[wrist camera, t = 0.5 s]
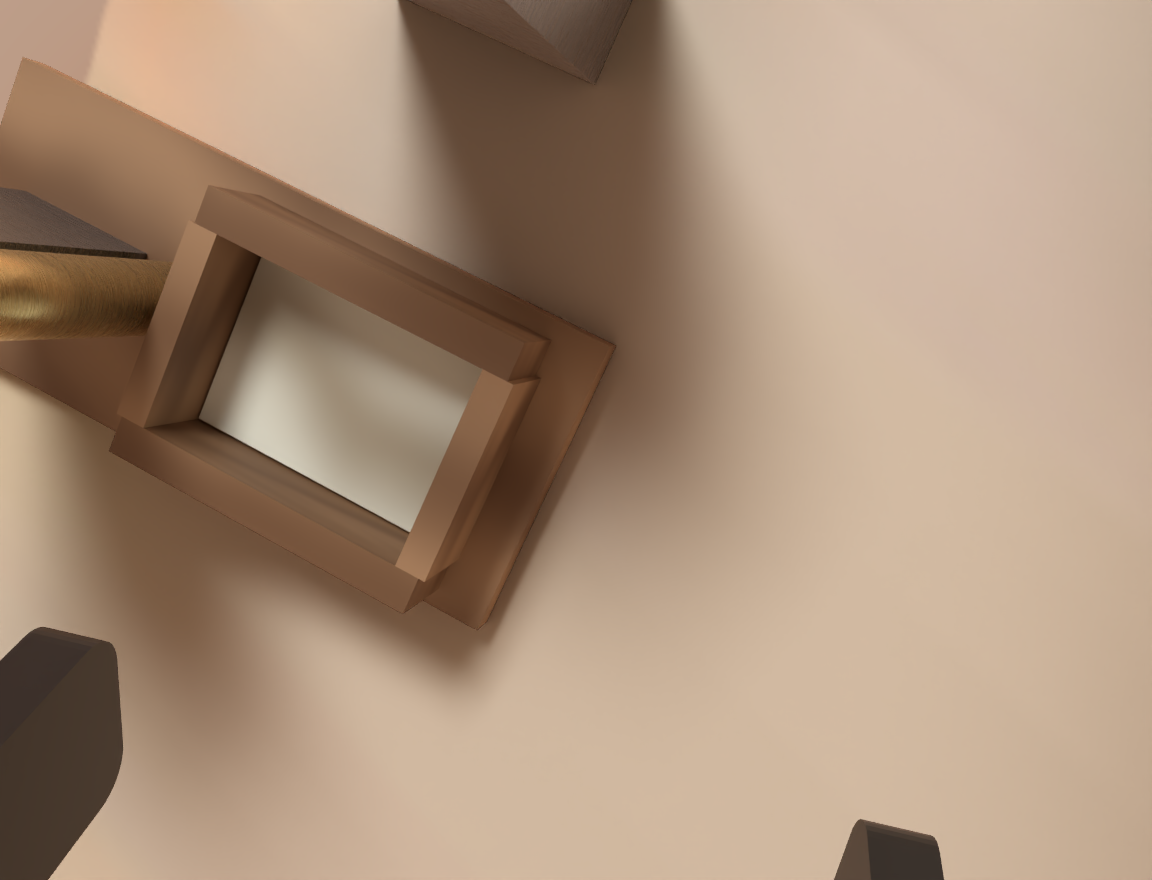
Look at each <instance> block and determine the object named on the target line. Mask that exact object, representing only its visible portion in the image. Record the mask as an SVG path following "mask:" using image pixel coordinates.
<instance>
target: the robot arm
mask: <svg viewBox="0 0 1152 880" xmlns="http://www.w3.org/2000/svg"><path fill="white" fill-rule="evenodd" d="M122 754H123V738H122V723H121V709H120V694H119V680H118V665H117V655H116V651H115V648H114V647H113V645H112V644H111V643H110V642H106V641H102V640H98V639H94V638H89V637H85V636H81V635H76V634H72V633H68V632H63V631H59V630H55V629H51V628H46V627H40V628H37V629H34V630H33V631H31V632H30V633H28V634H27V635H26V636H25V637H24V638H23V639H22V640H21V641H20V642H19V643H18V644H17V645H16V646H15V647H14V648H13V649H12V650H11V651H10V652H9V653H8V654H7V655H6V656H5V657H4V658H3V659H2V660H0V880H48V879H49V878H50V876H51V875H52V874H53V872H54V871H55V870H56V868H57V867H58V866H59V864H60V863H61V862H62V860H63V859H64V858H65V856H66V855H67V854H68V852H69V851H70V849H71V848H72V847H73V845H74V844H75V843H76V841H77V840H78V839H79V837H80V836H81V835H82V833H83V832H84V831H85V829H86V828H87V827H88V825H89V824H90V823H91V821H92V820H93V819H94V817H95V816H96V815H97V813H98V812H99V811H100V809H101V808H102V806H103V805H104V803H105V802H106V800H107V798H108V797H109V795H110V793H111V791H112V789H113V786H114V784H115V781H116V779H117V776H118V773H119V769H120V765H121V761H122ZM834 880H944V877H943V870H942V864H941V858H940V852H939V847H938V844H937V841H936V840H935V838H934V837H933V836H931V835H926V834H922V833H918V832H913V831H909V830H905V829H901V828H896V827H892V826H888V825H883V824H879V823H875V822H870V821H866V820H862V819H860V820H858V821H857V822H856V824H855V825H854V827H853V829H852V832H851V834H850V837H849V840H848V843H847V845H846V848H845V851H844V854H843V856H842V859H841V862H840V865H839V868H838V870H837V873H836V876H835V879H834Z"/></svg>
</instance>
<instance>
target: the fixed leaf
mask: <svg viewBox="0 0 1152 880" xmlns="http://www.w3.org/2000/svg"><path fill="white" fill-rule="evenodd" d="M146 256H147V253H145V252H143V251H141V250H139V249H137V248H135V247H133V246H131V245H129V244H128V243H126V242H124V241H122V240H120V239H118V238H116V237H114V236H112V235H110V234H108V233H106V232H104V231H102V230H100V229H99V228H97V227H95V226H93V225H91V224H89V223H87V222H85V221H83V220H81V219H79V218H77V217H75V216H73V215H71V214H70V213H68V212H66V211H64V210H62V209H60V208H58V207H56V206H54V205H52V204H50V203H48V202H46V201H44V200H42V199H40V198H39V197H37V196H35V195H33V194H31V193H29V192H27V191H23V190H16V189H10V188H3V187H0V341H17V340H45V339H73V338H101V337H130V336H146V333H147V331H148V328H149V325H150V323H151V320H152V317H153V315H154V312H155V309H156V306H157V304H158V301H159V298H160V296H161V293H162V290H163V288H164V285H165V282H166V280H167V277H168V274H169V272H170V269H171V266H172V264H173V262H169V261H155V260H145V259H146Z"/></svg>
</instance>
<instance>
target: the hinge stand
mask: <svg viewBox="0 0 1152 880" xmlns="http://www.w3.org/2000/svg"><path fill="white" fill-rule="evenodd" d="M0 187H3V188H10V189H16V190H23V191H27V192H29V193H31V194H33V195H35V196H37V197H39V198H40V199H42V200H44V201H46V202H48V203H50V204H52V205H54V206H56V207H58V208H60V209H62V210H64V211H66V212H68V213H70V214H71V215H73V216H75V217H77V218H79V219H81V220H83V221H85V222H87V223H89V224H91V225H93V226H95V227H97V228H99V229H100V230H102V231H104V232H106V233H108V234H110V235H112V236H114V237H116V238H118V239H120V240H122V241H124V242H126V243H128V244H129V245H131V246H133V247H135V248H137V249H139V250H141V251H143V252H145V253H147V256H146V259H145V260H155V261H169V262H173V264H172V266H171V269H170V272H169V274H168V277H167V280H166V282H165V285H164V288H163V290H162V293H161V296H160V298H159V301H158V304H157V306H156V309H155V312H154V315H153V317H152V320H151V323H150V325H149V328H148V331H147V333H146V336H130V337H101V338H73V339H45V340H17V341H0V368H1V369H3V370H5V371H7V372H9V373H11V374H12V375H14V376H16V377H18V378H20V379H21V380H23V381H25V382H27V383H29V384H31V385H32V386H34V387H36V388H38V389H40V390H41V391H43V392H45V393H47V394H49V395H51V396H52V397H54V398H56V399H58V400H60V401H61V402H63V403H65V404H67V405H69V406H71V407H72V408H74V409H76V410H78V411H80V412H81V413H83V414H85V415H87V416H89V417H90V418H92V419H94V420H96V421H98V422H100V423H101V424H103V425H105V426H107V427H109V428H110V429H112V430H114V431H116V434H115V436H114V439H113V442H112V444H111V447H110V450H109V451H110V452H112V453H113V454H115V455H117V456H119V457H121V458H122V459H124V460H126V461H128V462H130V463H131V464H133V465H135V466H137V467H139V468H140V469H142V470H144V471H146V472H148V473H149V474H151V475H153V476H155V477H157V478H158V479H160V480H162V481H164V482H166V483H167V484H169V485H171V486H173V487H175V488H176V489H178V490H180V491H182V492H184V493H185V494H187V495H189V496H191V497H193V498H194V499H196V500H198V501H200V502H202V503H203V504H205V505H207V506H209V507H211V508H212V509H214V510H216V511H218V512H220V513H221V514H223V515H225V516H227V517H229V518H230V519H232V520H234V521H236V522H238V523H240V524H241V525H243V526H245V527H247V528H249V529H250V530H252V531H254V532H256V533H258V534H259V535H261V536H263V537H265V538H267V539H268V540H270V541H272V542H274V543H276V544H277V545H279V546H281V547H283V548H285V549H286V550H288V551H290V552H292V553H294V554H295V555H297V556H299V557H301V558H303V559H304V560H306V561H308V562H310V563H312V564H313V565H315V566H317V567H319V568H321V569H322V570H324V571H326V572H328V573H330V574H331V575H333V576H335V577H337V578H339V579H340V580H342V581H344V582H346V583H348V584H349V585H351V586H353V587H355V588H357V589H358V590H360V591H362V592H364V593H366V594H367V595H369V596H371V597H373V598H375V599H377V600H378V601H380V602H382V603H384V604H386V605H387V606H389V607H391V608H393V609H395V610H396V611H398V612H400V613H402V614H403V613H405V612H406V611H408V610H409V609H411V608H412V607H413V606H415V605H416V604H418V603H419V602H421V601H422V600H423V601H425V602H426V603H428V604H430V605H432V606H434V607H436V608H437V609H439V610H441V611H443V612H445V613H446V614H448V615H450V616H452V617H454V618H455V619H457V620H459V621H461V622H463V623H465V624H466V625H468V626H470V627H472V628H474V629H475V630H478V629H479V628H480V627H481V626H482V625H484V624H485V623H486V622H487V620H488V618H489V616H490V614H491V611H492V609H493V607H494V605H495V603H496V601H497V599H498V596H499V594H500V592H501V590H502V588H503V586H504V584H505V582H506V579H507V577H508V575H509V573H510V571H511V569H512V567H513V565H514V562H515V560H516V558H517V556H518V554H519V552H520V550H521V548H522V545H523V543H524V541H525V539H526V537H527V535H528V533H529V530H530V528H531V526H532V524H533V522H534V520H535V518H536V516H537V513H538V511H539V509H540V507H541V505H542V503H543V501H544V499H545V496H546V494H547V492H548V490H549V488H550V486H551V484H552V482H553V479H554V477H555V475H556V473H557V471H558V469H559V467H560V464H561V462H562V460H563V458H564V456H565V454H566V452H567V450H568V447H569V445H570V443H571V441H572V439H573V437H574V435H575V433H576V430H577V428H578V426H579V424H580V422H581V420H582V418H583V416H584V413H585V411H586V409H587V407H588V405H589V403H590V401H591V398H592V396H593V394H594V392H595V390H596V388H597V386H598V384H599V381H600V379H601V377H602V375H603V373H604V371H605V369H606V367H607V364H608V362H609V360H610V358H611V356H612V354H613V352H614V350H615V347H616V345H614V344H612V343H610V342H608V341H606V340H603V339H601V338H599V337H597V336H595V335H593V334H591V333H589V332H587V331H585V330H583V329H581V328H579V327H577V326H575V325H573V324H571V323H569V322H567V321H565V320H563V319H561V318H559V317H557V316H555V315H553V314H551V313H549V312H547V311H545V310H543V309H541V308H539V307H537V306H534V305H532V304H530V303H528V302H526V301H524V300H522V299H520V298H518V297H516V296H514V295H512V294H510V293H508V292H506V291H504V290H502V289H500V288H498V287H496V286H494V285H492V284H490V283H488V282H486V281H484V280H482V279H480V278H478V277H476V276H474V275H472V274H470V273H468V272H465V271H463V270H461V269H459V268H457V267H455V266H453V265H451V264H449V263H447V262H445V261H443V260H441V259H439V258H437V257H435V256H433V255H431V254H429V253H427V252H425V251H423V250H421V249H419V248H417V247H415V246H413V245H411V244H409V243H407V242H405V241H403V240H401V239H399V238H396V237H394V236H392V235H390V234H388V233H386V232H384V231H382V230H380V229H378V228H376V227H374V226H372V225H370V224H368V223H366V222H364V221H362V220H360V219H358V218H356V217H354V216H352V215H350V214H348V213H346V212H344V211H342V210H340V209H338V208H336V207H334V206H332V205H330V204H327V203H325V202H323V201H321V200H319V199H317V198H315V197H313V196H311V195H309V194H307V193H305V192H303V191H301V190H299V189H297V188H295V187H293V186H291V185H289V184H287V183H285V182H283V181H281V180H279V179H277V178H275V177H273V176H271V175H269V174H267V173H265V172H263V171H261V170H258V169H256V168H254V167H252V166H250V165H248V164H246V163H244V162H242V161H240V160H238V159H236V158H234V157H232V156H230V155H228V154H226V153H224V152H222V151H220V150H218V149H216V148H214V147H212V146H210V145H208V144H206V143H204V142H202V141H200V140H198V139H196V138H194V137H191V136H189V135H187V134H185V133H183V132H181V131H179V130H177V129H175V128H173V127H171V126H169V125H167V124H165V123H163V122H161V121H159V120H157V119H155V118H153V117H151V116H149V115H147V114H145V113H143V112H141V111H139V110H137V109H135V108H133V107H131V106H129V105H127V104H125V103H122V102H120V101H118V100H116V99H114V98H112V97H110V96H108V95H106V94H104V93H102V92H100V91H98V90H96V89H94V88H92V87H90V86H88V85H86V84H84V83H82V82H80V81H78V80H76V79H73V78H72V77H70V76H68V75H65V74H64V73H62V72H60V71H58V70H56V69H53V68H51V67H49V66H47V65H45V64H43V63H40V62H37V61H33V60H30V59H27V58H24V57H23V58H22V61H21V64H20V67H19V70H18V73H17V76H16V79H15V82H14V85H13V88H12V91H11V94H10V97H9V100H8V103H7V106H6V110H5V113H4V116H3V119H2V122H1V125H0Z"/></svg>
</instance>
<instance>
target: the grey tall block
mask: <svg viewBox="0 0 1152 880" xmlns="http://www.w3.org/2000/svg"><path fill="white" fill-rule="evenodd" d="M408 1H411V2H413V3H415V4H417V5H419V6H422V7H424V8H426V9H428V10H430V11H433V12H435V13H437V14H439V15H441V16H444V17H446V18H448V19H450V20H453V21H455V22H457V23H459V24H461V25H464V26H466V27H468V28H470V29H472V30H475V31H477V32H479V33H481V34H483V35H486V36H488V37H490V38H492V39H495V40H497V41H499V42H501V43H503V44H506V45H508V46H510V47H512V48H514V49H517V50H519V51H521V52H523V53H525V54H528V55H530V56H532V57H534V58H537V59H539V60H541V61H543V62H545V63H548V64H550V65H552V66H554V67H556V68H559V69H561V70H563V71H565V72H567V73H570V74H572V75H574V76H576V77H579V78H581V79H583V80H585V81H587V82H590V83H592V84H594V85H595V83H596V81H597V79H598V76H599V74H600V72H601V70H602V67H603V65H604V63H605V61H606V58H607V56H608V54H609V52H610V49H611V47H612V45H613V42H614V40H615V38H616V36H617V33H618V31H619V29H620V27H621V24H622V22H623V20H624V18H625V15H626V13H627V11H628V9H629V6H630V4H631V2H632V0H408Z"/></svg>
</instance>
